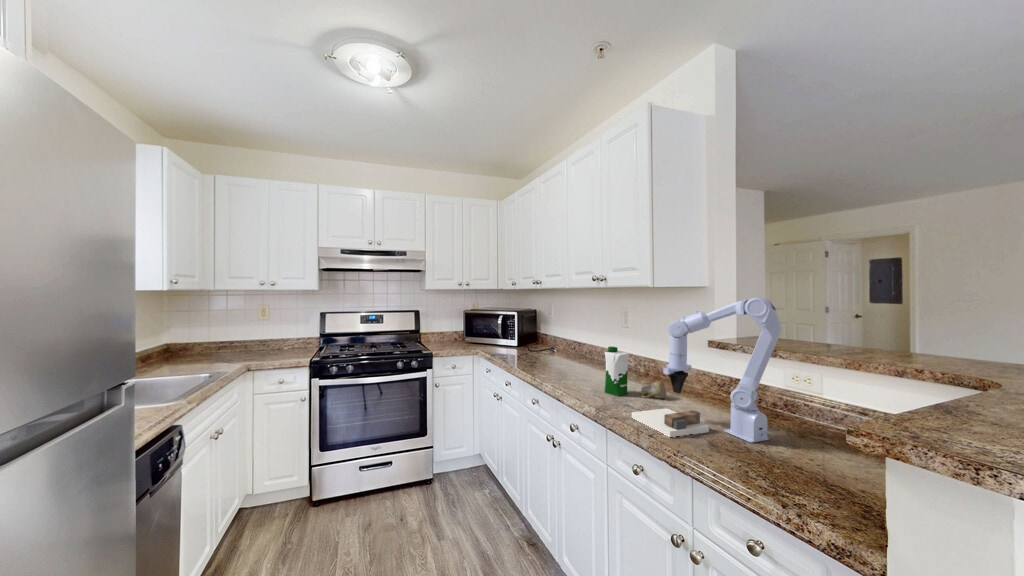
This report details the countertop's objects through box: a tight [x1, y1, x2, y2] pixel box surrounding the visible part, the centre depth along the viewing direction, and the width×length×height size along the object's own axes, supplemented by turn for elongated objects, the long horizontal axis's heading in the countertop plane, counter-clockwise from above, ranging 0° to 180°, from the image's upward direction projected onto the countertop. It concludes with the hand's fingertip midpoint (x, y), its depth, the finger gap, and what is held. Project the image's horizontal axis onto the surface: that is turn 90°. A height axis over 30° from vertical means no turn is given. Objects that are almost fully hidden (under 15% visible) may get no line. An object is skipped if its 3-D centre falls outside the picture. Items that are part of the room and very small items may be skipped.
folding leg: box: [664, 410, 701, 427], centre depth 118 cm, size 13×3×3 cm, turn 113°
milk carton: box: [604, 346, 630, 397], centre depth 159 cm, size 9×9×20 cm
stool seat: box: [631, 408, 710, 438], centre depth 122 cm, size 18×16×4 cm
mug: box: [640, 380, 667, 400], centre depth 155 cm, size 8×10×10 cm
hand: (677, 392), depth 128 cm, fingers closed
